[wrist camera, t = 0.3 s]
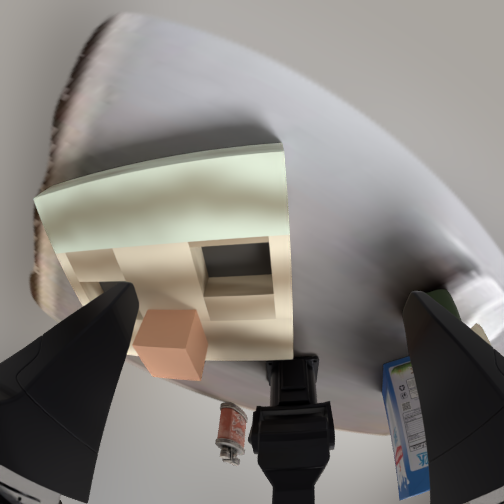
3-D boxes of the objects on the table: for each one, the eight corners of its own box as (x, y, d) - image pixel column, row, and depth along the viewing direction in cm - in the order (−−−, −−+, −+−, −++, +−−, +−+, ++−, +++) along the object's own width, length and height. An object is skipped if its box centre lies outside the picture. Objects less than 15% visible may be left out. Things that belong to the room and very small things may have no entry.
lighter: (216, 402, 41) (208, 456, 33) (235, 401, 40) (229, 457, 32) (234, 420, 45) (229, 467, 37) (251, 419, 44) (247, 467, 36)
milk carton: (383, 363, 33) (409, 496, 16) (423, 350, 32) (459, 477, 15) (381, 393, 38) (399, 500, 21) (415, 382, 37) (439, 486, 20)
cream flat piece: (292, 337, 30) (293, 359, 28) (120, 335, 33) (113, 352, 30) (281, 142, 19) (283, 151, 17) (51, 185, 21) (33, 198, 19)
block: (208, 343, 27) (200, 380, 23) (163, 342, 28) (152, 376, 24) (196, 309, 24) (185, 348, 21) (147, 309, 25) (132, 345, 21)
